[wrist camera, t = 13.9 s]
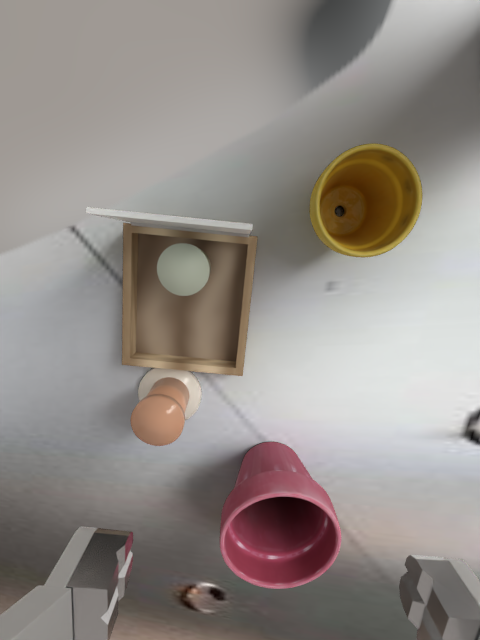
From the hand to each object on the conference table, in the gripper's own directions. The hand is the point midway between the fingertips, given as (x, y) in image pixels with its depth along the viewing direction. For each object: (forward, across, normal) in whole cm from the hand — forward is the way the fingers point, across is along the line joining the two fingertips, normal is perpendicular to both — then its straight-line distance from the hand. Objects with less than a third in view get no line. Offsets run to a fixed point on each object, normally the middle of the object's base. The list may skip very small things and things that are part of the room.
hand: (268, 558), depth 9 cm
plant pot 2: (+34, -10, -14) cm, 38 cm away
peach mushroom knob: (+33, +10, +13) cm, 37 cm away
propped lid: (+32, +8, -10) cm, 34 cm away
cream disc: (+34, +10, +13) cm, 38 cm away
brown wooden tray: (+34, +8, -1) cm, 35 cm away
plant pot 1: (+34, -6, +24) cm, 42 cm away
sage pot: (+34, +8, -6) cm, 35 cm away
